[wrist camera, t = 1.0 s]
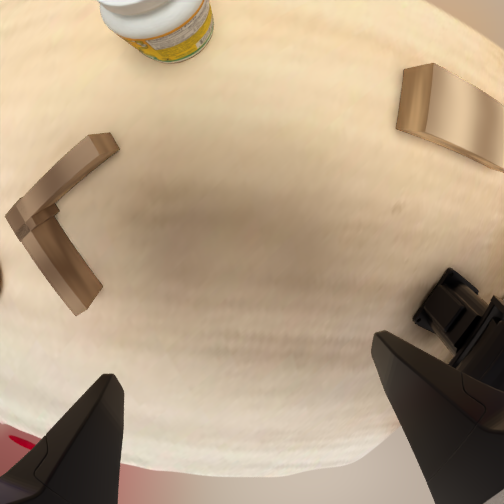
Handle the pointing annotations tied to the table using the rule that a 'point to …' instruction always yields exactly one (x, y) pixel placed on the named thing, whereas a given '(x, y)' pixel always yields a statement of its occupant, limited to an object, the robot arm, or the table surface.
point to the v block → (48, 229)
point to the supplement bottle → (161, 26)
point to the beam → (452, 114)
